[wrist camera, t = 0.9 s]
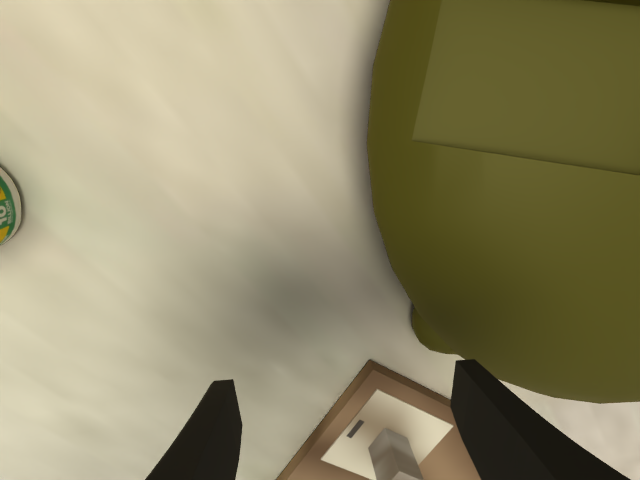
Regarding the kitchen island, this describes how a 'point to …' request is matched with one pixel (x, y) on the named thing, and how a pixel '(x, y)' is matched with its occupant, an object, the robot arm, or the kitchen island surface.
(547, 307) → the green turtle
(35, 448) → the kitchen island surface
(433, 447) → the board
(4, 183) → the supplement bottle
